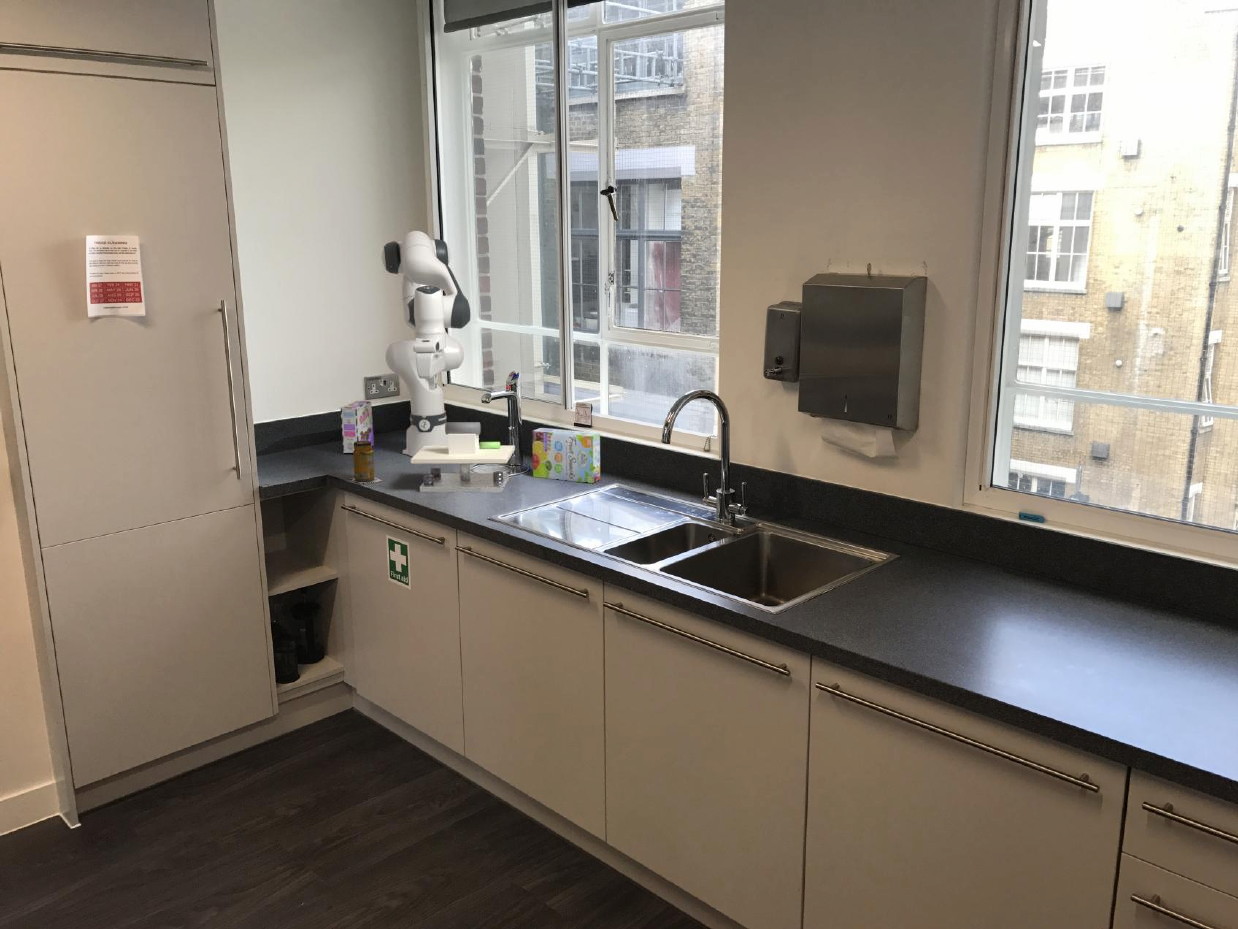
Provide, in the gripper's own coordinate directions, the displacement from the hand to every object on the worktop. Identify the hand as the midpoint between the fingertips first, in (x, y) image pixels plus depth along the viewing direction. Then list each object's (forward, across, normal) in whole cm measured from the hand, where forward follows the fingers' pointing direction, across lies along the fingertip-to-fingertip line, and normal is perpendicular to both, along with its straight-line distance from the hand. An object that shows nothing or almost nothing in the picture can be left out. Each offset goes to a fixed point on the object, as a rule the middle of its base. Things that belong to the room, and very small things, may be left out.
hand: (433, 389), depth 299 cm
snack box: (+29, -8, +38) cm, 49 cm away
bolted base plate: (+29, +1, +9) cm, 30 cm away
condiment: (+29, -4, -23) cm, 38 cm away
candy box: (+29, -45, -38) cm, 66 cm away
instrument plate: (+20, +1, +9) cm, 22 cm away
